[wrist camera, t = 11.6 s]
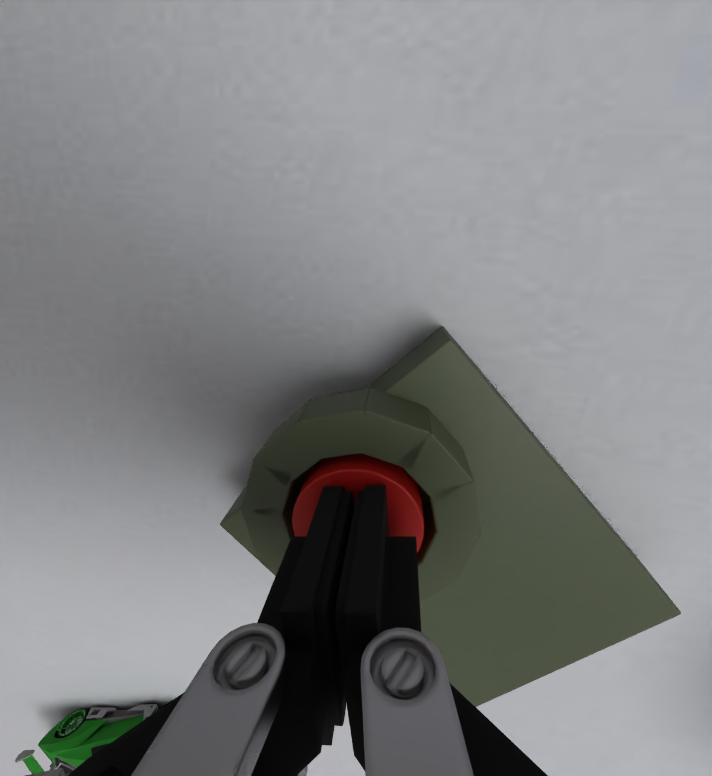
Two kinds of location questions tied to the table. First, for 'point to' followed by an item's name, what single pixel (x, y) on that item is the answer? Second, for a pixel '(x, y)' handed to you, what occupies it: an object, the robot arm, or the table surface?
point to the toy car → (84, 735)
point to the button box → (467, 521)
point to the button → (354, 477)
